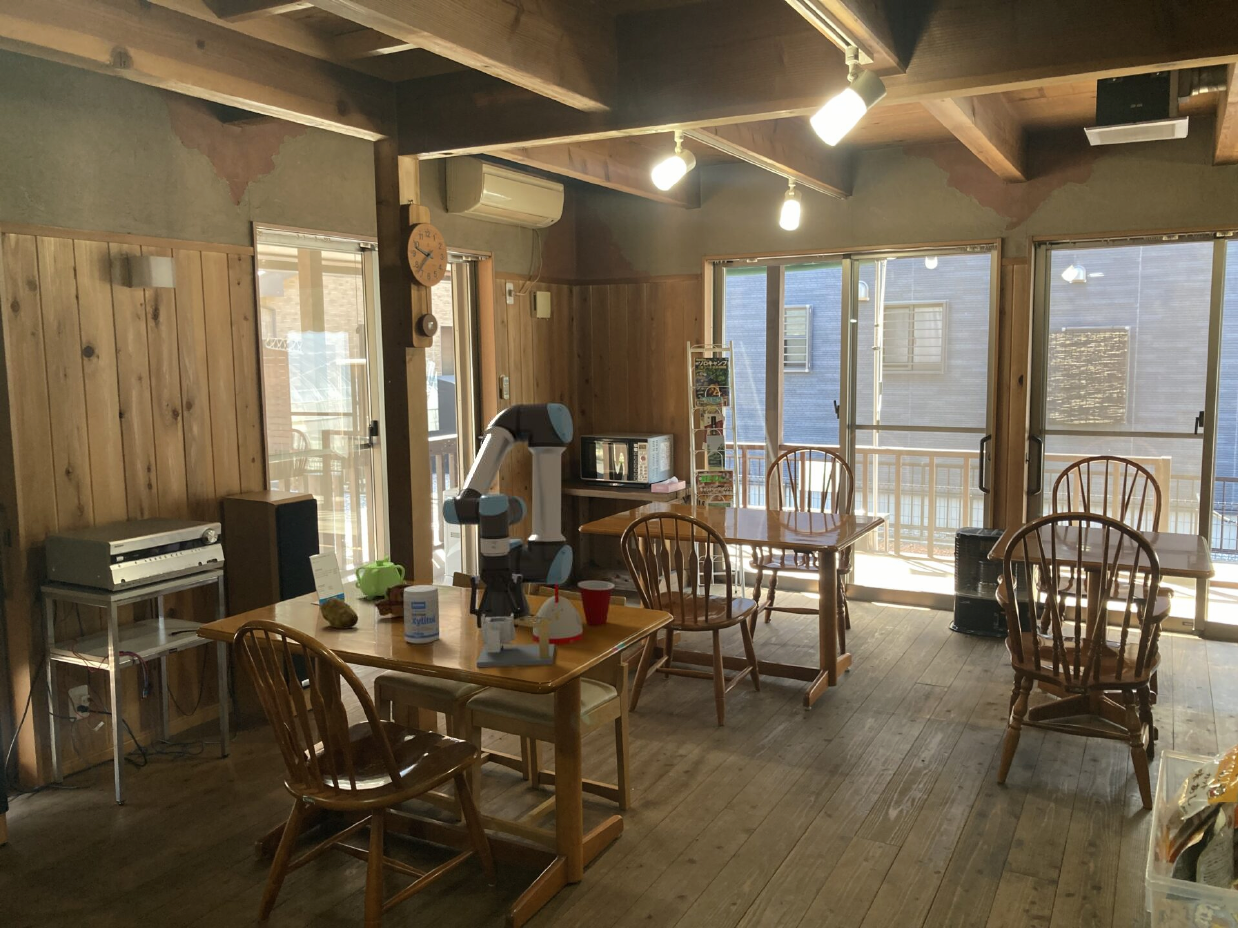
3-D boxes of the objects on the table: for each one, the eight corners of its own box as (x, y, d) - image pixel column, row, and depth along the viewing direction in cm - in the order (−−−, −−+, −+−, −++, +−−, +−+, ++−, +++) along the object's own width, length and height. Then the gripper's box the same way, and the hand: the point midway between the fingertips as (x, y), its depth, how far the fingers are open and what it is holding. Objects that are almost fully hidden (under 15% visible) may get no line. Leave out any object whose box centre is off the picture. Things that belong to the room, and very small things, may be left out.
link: (486, 637, 256) (486, 617, 255) (512, 636, 256) (512, 616, 256) (480, 652, 241) (479, 631, 240) (507, 651, 241) (507, 630, 241)
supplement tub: (413, 646, 262) (411, 593, 260) (399, 639, 269) (396, 587, 268) (446, 639, 268) (443, 588, 266) (430, 633, 275) (428, 582, 274)
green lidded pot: (350, 595, 327) (348, 559, 326) (389, 589, 336) (387, 553, 335) (370, 603, 314) (368, 565, 313) (410, 596, 323) (408, 559, 322)
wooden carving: (377, 621, 290) (376, 588, 290) (374, 618, 295) (373, 586, 294) (431, 614, 298) (429, 582, 297) (427, 611, 302) (426, 580, 301)
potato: (333, 633, 278) (331, 605, 277) (318, 624, 289) (317, 598, 288) (360, 628, 283) (359, 601, 282) (345, 619, 293) (344, 594, 293)
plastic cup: (616, 627, 276) (615, 586, 275) (579, 628, 276) (577, 587, 275) (614, 618, 287) (613, 578, 286) (578, 619, 287) (577, 579, 286)
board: (483, 650, 256) (483, 646, 256) (554, 648, 256) (554, 643, 256) (476, 666, 241) (476, 662, 241) (552, 664, 242) (552, 659, 242)
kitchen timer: (532, 645, 260) (530, 591, 259) (533, 632, 274) (531, 580, 272) (583, 643, 261) (582, 589, 260) (582, 630, 275) (580, 578, 273)
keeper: (528, 650, 251) (527, 615, 250) (555, 655, 246) (554, 619, 245) (515, 655, 246) (514, 619, 246) (543, 660, 241) (542, 623, 241)
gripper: (455, 556, 247) (458, 644, 249) (532, 554, 247) (535, 641, 249) (459, 551, 254) (462, 636, 256) (534, 549, 255) (537, 634, 257)
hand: (498, 639), depth 253 cm, fingers closed on link, 7 cm apart
